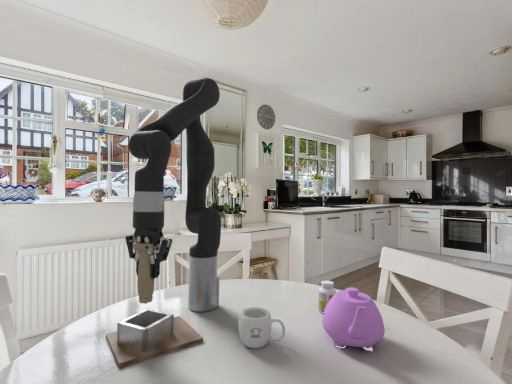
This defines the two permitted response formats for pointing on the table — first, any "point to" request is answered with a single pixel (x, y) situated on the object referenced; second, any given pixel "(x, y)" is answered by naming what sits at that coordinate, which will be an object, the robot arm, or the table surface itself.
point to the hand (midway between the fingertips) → (147, 276)
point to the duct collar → (145, 329)
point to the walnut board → (177, 340)
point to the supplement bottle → (325, 294)
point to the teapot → (353, 319)
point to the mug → (257, 327)
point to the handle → (145, 272)
